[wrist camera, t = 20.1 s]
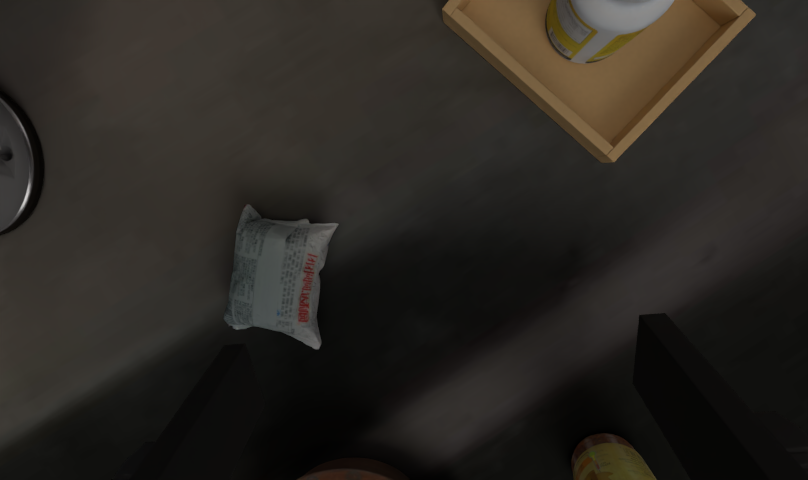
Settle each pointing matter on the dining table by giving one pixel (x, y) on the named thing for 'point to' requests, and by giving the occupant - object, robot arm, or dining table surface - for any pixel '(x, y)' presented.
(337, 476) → the dish
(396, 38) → the dining table surface
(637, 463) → the sauce bottle
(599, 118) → the tray
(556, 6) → the pill bottle
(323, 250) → the packaged food
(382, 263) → the dining table surface
